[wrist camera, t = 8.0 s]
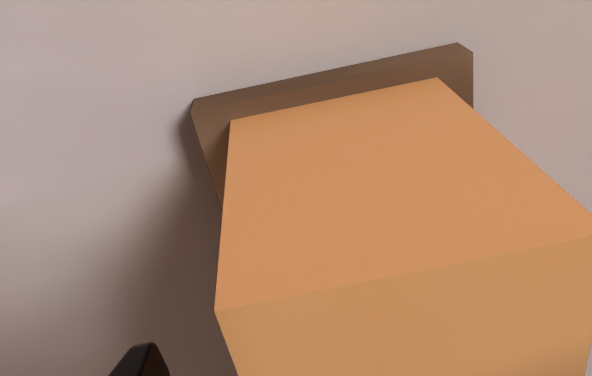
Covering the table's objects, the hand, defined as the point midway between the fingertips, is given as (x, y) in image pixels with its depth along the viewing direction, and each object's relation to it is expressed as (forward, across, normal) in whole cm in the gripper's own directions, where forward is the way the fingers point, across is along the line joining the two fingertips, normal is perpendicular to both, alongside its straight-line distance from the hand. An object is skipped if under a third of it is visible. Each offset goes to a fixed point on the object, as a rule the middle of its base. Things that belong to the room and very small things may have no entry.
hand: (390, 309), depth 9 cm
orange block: (+5, 0, 0) cm, 5 cm away
